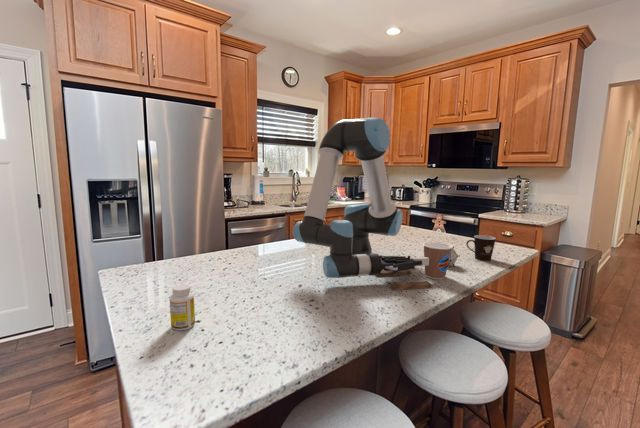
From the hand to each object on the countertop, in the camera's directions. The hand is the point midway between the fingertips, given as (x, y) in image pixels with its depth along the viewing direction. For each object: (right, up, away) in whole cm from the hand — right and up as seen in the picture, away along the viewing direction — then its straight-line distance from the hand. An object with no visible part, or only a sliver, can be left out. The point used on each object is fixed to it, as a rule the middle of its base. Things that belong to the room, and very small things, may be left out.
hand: (427, 261), depth 117 cm
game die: (+14, -5, +17) cm, 23 cm away
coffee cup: (+4, -6, +3) cm, 8 cm away
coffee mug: (+33, -3, +29) cm, 44 cm away
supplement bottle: (-74, -11, -37) cm, 83 cm away
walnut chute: (-10, -7, -1) cm, 12 cm away
